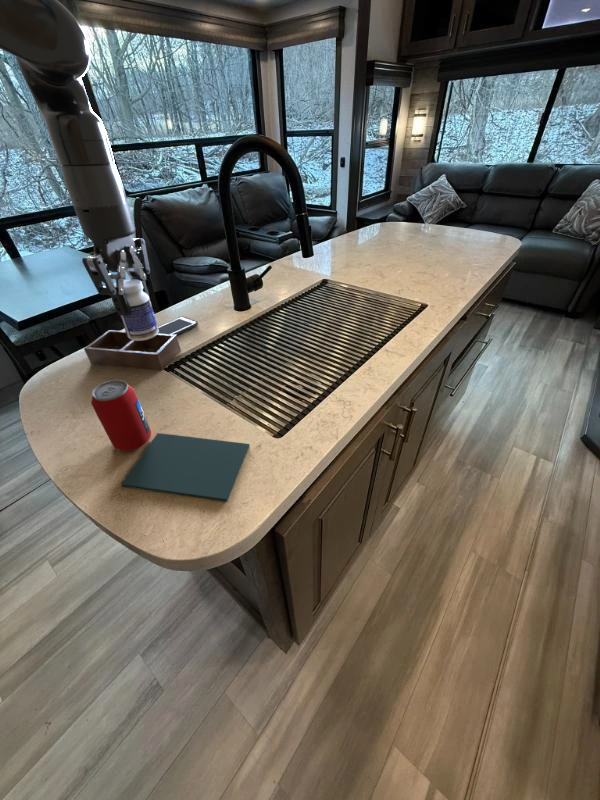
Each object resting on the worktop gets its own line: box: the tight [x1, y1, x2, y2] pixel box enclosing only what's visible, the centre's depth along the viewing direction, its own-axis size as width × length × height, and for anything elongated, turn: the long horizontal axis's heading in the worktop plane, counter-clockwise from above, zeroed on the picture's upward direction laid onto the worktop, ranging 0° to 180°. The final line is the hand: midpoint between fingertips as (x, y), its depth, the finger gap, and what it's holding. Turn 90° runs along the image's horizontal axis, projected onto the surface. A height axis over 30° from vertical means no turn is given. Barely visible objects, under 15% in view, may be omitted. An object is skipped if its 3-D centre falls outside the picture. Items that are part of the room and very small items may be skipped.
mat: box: [120, 432, 250, 503], centre depth 57 cm, size 18×12×1 cm, turn 80°
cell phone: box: [158, 315, 199, 336], centre depth 97 cm, size 8×15×1 cm, turn 144°
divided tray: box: [83, 329, 182, 371], centre depth 84 cm, size 19×10×4 cm, turn 80°
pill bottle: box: [113, 278, 159, 341], centre depth 61 cm, size 6×6×10 cm
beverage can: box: [90, 379, 152, 452], centre depth 58 cm, size 7×7×12 cm
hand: (134, 307), depth 60 cm, fingers closed on pill bottle, 5 cm apart
